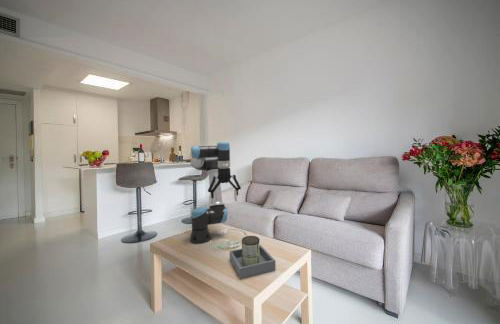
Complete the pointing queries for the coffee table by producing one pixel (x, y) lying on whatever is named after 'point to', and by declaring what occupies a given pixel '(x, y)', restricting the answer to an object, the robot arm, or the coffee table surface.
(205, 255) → the coffee table surface
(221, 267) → the coffee table surface
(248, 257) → the coffee can
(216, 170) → the robot arm
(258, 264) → the bin
